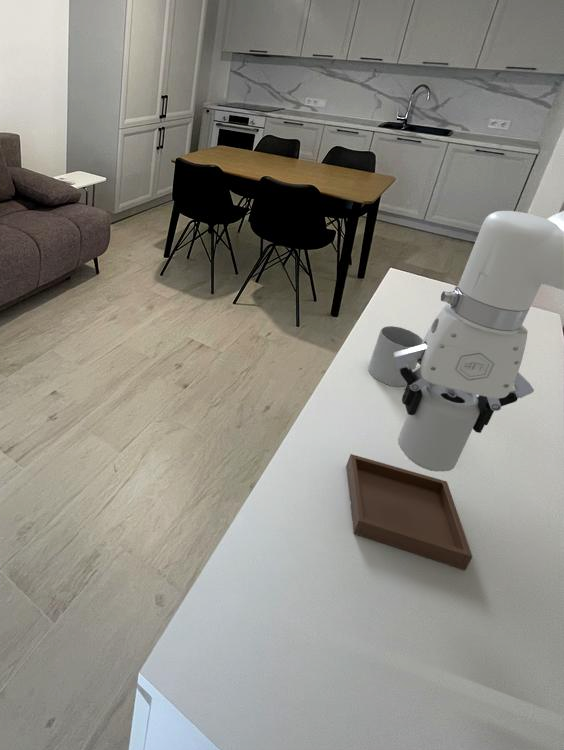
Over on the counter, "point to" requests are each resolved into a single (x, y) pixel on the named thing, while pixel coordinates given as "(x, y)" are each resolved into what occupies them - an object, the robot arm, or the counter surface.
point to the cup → (383, 359)
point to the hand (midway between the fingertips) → (440, 416)
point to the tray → (406, 511)
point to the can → (439, 427)
